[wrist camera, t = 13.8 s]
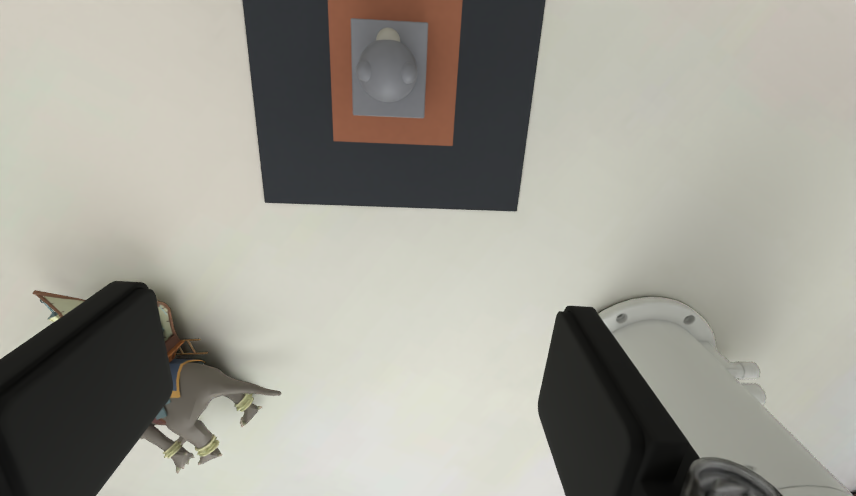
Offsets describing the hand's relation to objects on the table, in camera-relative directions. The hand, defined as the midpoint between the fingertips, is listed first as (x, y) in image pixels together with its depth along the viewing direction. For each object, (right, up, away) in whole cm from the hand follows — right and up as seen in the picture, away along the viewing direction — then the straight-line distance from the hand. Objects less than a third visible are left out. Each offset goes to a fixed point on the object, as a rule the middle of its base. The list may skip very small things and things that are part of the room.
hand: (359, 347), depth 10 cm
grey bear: (-1, +14, +17) cm, 22 cm away
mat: (0, +14, +17) cm, 22 cm away
